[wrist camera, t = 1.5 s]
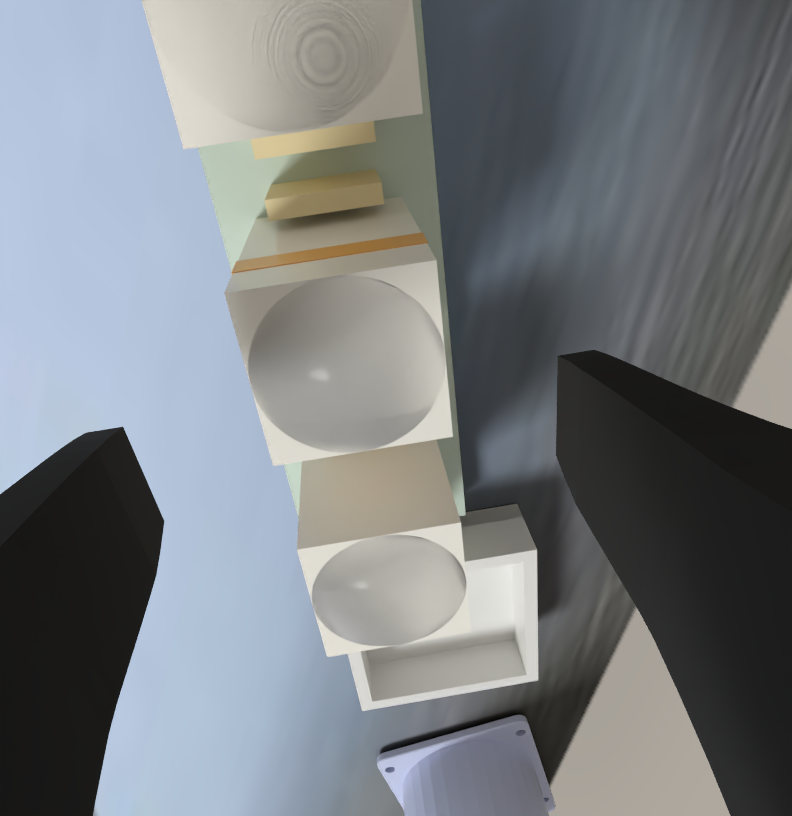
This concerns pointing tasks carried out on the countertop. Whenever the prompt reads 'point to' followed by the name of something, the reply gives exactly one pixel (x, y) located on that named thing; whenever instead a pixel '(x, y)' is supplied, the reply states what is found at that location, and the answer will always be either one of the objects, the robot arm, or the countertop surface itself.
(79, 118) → the countertop surface
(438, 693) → the tray
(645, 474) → the robot arm
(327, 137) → the fuse block
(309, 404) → the block
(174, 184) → the countertop surface
